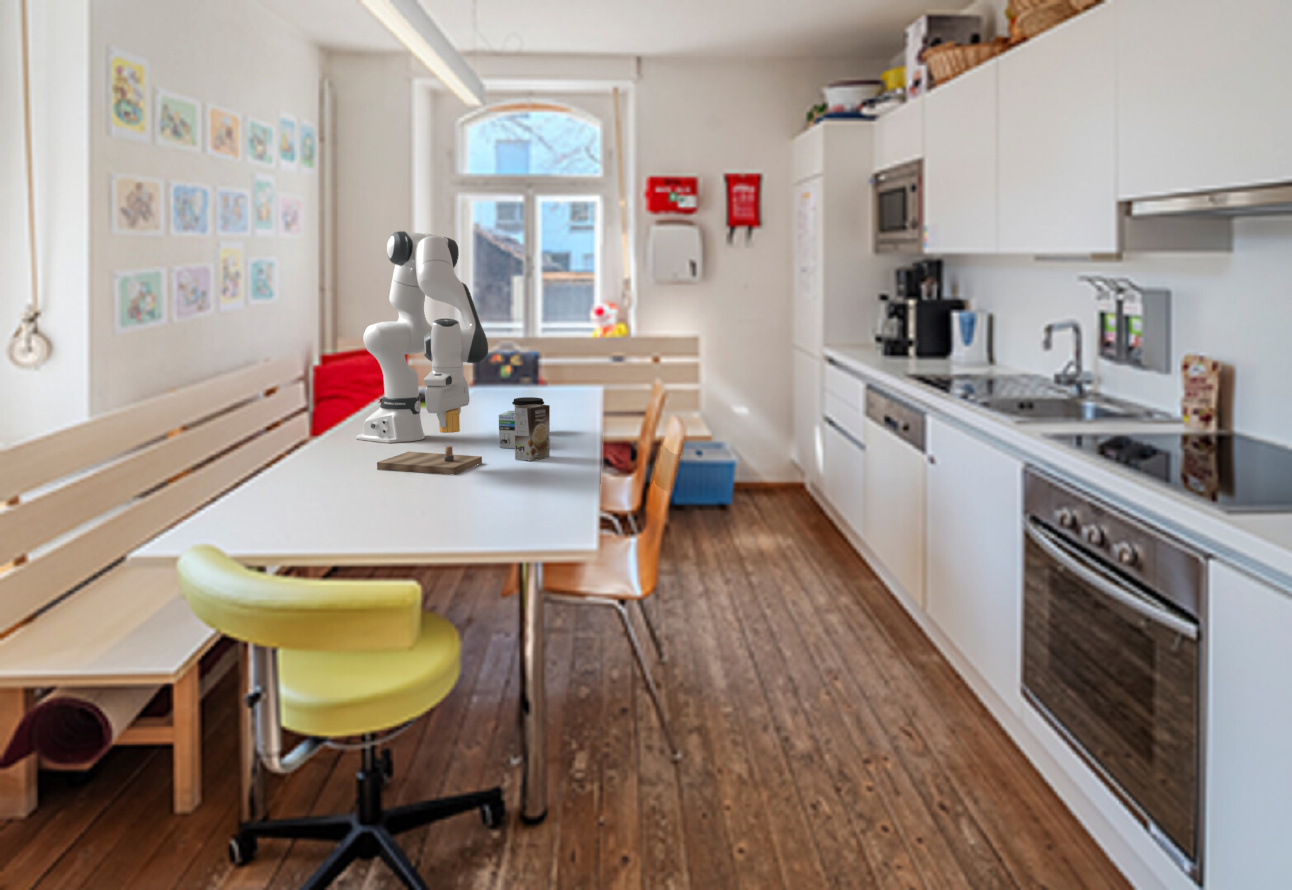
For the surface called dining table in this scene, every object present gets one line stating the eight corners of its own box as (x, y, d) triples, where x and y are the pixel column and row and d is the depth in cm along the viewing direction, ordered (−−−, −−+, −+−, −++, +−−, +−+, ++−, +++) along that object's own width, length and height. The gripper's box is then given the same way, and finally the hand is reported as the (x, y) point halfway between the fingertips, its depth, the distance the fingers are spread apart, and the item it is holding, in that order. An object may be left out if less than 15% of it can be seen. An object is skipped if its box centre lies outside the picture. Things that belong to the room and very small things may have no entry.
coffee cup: (507, 435, 351) (506, 400, 349) (520, 430, 361) (520, 396, 359) (537, 436, 348) (536, 401, 346) (549, 432, 358) (549, 397, 356)
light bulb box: (518, 449, 325) (518, 415, 323) (498, 448, 326) (497, 414, 324) (529, 443, 335) (528, 410, 333) (509, 442, 336) (508, 410, 334)
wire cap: (436, 432, 290) (435, 411, 290) (445, 429, 296) (444, 408, 295) (454, 433, 289) (453, 412, 288) (462, 430, 294) (462, 409, 293)
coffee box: (530, 461, 304) (530, 408, 301) (514, 459, 308) (513, 406, 305) (550, 457, 311) (550, 404, 309) (534, 454, 315) (533, 403, 312)
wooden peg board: (377, 469, 291) (376, 448, 290) (409, 458, 308) (408, 438, 307) (453, 474, 284) (453, 453, 283) (482, 463, 301) (481, 443, 300)
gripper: (454, 373, 300) (455, 419, 303) (420, 380, 281) (422, 429, 283) (474, 373, 299) (475, 420, 301) (441, 380, 279) (442, 430, 282)
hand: (449, 425), depth 292 cm, fingers closed on wire cap, 6 cm apart
